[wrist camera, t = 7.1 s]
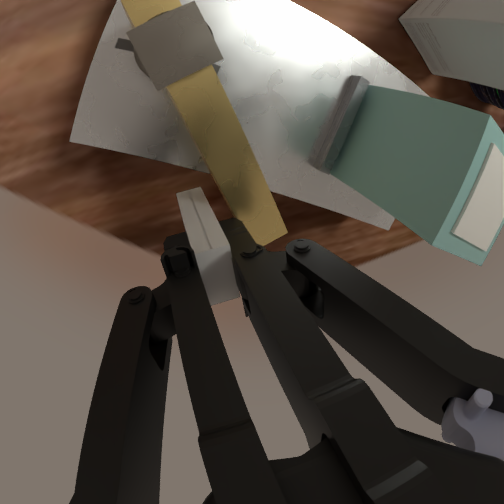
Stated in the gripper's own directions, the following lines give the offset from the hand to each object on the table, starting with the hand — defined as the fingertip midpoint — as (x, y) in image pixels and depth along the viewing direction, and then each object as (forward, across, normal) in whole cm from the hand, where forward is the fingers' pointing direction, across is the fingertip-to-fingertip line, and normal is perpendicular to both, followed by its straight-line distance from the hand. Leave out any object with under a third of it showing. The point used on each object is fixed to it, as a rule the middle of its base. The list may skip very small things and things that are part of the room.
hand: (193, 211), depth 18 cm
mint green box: (+1, +14, +1) cm, 14 cm away
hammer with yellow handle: (+1, +1, +5) cm, 6 cm away
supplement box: (+7, +26, +12) cm, 29 cm away
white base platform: (+7, +8, +5) cm, 11 cm away
